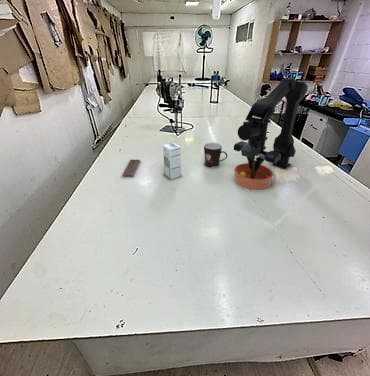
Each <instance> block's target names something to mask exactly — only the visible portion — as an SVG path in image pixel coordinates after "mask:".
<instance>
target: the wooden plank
mask: <svg viewBox="0 0 370 376" xmlns="http://www.w3.org/2000/svg"><path fill="white" fill-rule="evenodd" d="M140 162H141V159H132V158H131V159H130V160H129V161H128V164H127V166H126V168H125V169H124V170H123V173H122V176H123V177H134V176H135V174H136V171H137V169H138V166H139V164H140Z"/></svg>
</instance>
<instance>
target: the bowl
mask: <svg viewBox="0 0 370 376" xmlns="http://www.w3.org/2000/svg"><path fill="white" fill-rule="evenodd" d="M233 170H234V171H233V181H234V183H236V184H237V185H238V186H240V187H242V188H245V189H248V190H254V191H260V190H261V191H262V190H265V189H268V188H270V187H271V185H272V183H273V177H274V172H273V171H272V169H270V168H269V167H267V166H265V165H262V164H261V166H260V167H259V169H258V170H257V171H256V174H255V179H251V178H250V175H251V169H250V167H249V163H248V162H247V163H245V162H244V163H239V164H237V165H236V166H235V167H234V169H233ZM241 172H245V173H246V175H247V176H246V177H244V176H242V175H240V173H241Z"/></svg>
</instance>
